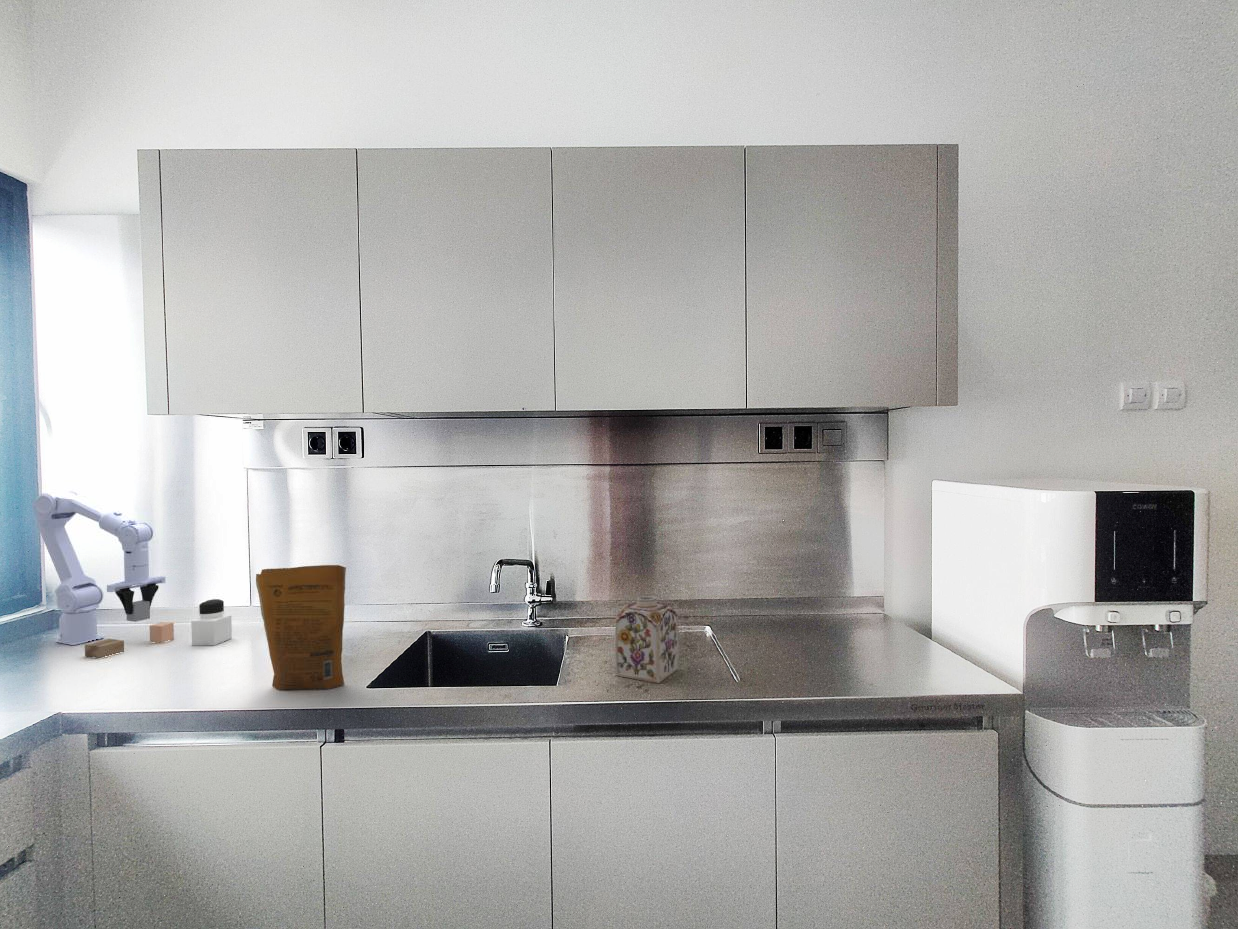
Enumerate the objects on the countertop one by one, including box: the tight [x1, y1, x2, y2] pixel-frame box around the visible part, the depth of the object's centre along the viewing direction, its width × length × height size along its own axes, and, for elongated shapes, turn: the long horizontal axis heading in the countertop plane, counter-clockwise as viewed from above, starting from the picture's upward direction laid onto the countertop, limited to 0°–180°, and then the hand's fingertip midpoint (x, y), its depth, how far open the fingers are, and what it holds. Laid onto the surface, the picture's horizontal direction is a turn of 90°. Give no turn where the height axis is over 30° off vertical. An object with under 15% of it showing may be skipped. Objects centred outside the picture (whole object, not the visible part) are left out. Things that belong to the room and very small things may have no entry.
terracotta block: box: [149, 621, 175, 644], centre depth 187 cm, size 4×4×5 cm
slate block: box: [126, 599, 151, 623], centre depth 187 cm, size 4×4×5 cm
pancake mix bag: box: [255, 564, 347, 691], centre depth 146 cm, size 7×19×28 cm, turn 91°
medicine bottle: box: [190, 598, 233, 646], centre depth 185 cm, size 7×7×12 cm
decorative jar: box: [614, 595, 680, 684], centre depth 153 cm, size 12×12×18 cm
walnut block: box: [84, 638, 125, 659], centre depth 174 cm, size 6×6×4 cm
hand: (137, 612), depth 187 cm, fingers closed on slate block, 4 cm apart
